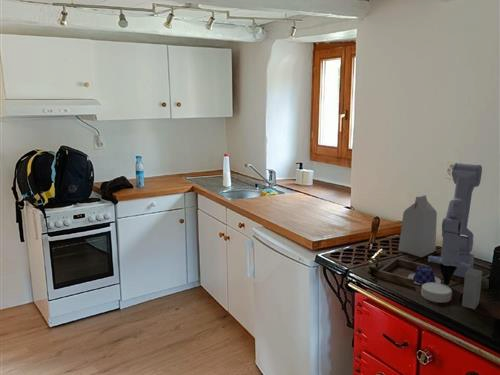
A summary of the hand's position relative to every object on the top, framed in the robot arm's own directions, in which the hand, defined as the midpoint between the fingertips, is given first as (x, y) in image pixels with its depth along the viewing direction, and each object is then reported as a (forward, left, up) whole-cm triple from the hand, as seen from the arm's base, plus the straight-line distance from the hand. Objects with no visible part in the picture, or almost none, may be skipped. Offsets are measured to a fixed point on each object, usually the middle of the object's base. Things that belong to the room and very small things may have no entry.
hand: (446, 283), depth 161 cm
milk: (+22, -31, -1) cm, 38 cm away
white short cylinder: (0, +11, -2) cm, 11 cm away
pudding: (+8, 0, -2) cm, 8 cm away
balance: (+28, -1, -1) cm, 28 cm away
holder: (+17, 0, -1) cm, 17 cm away
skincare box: (-11, +10, -1) cm, 15 cm away
